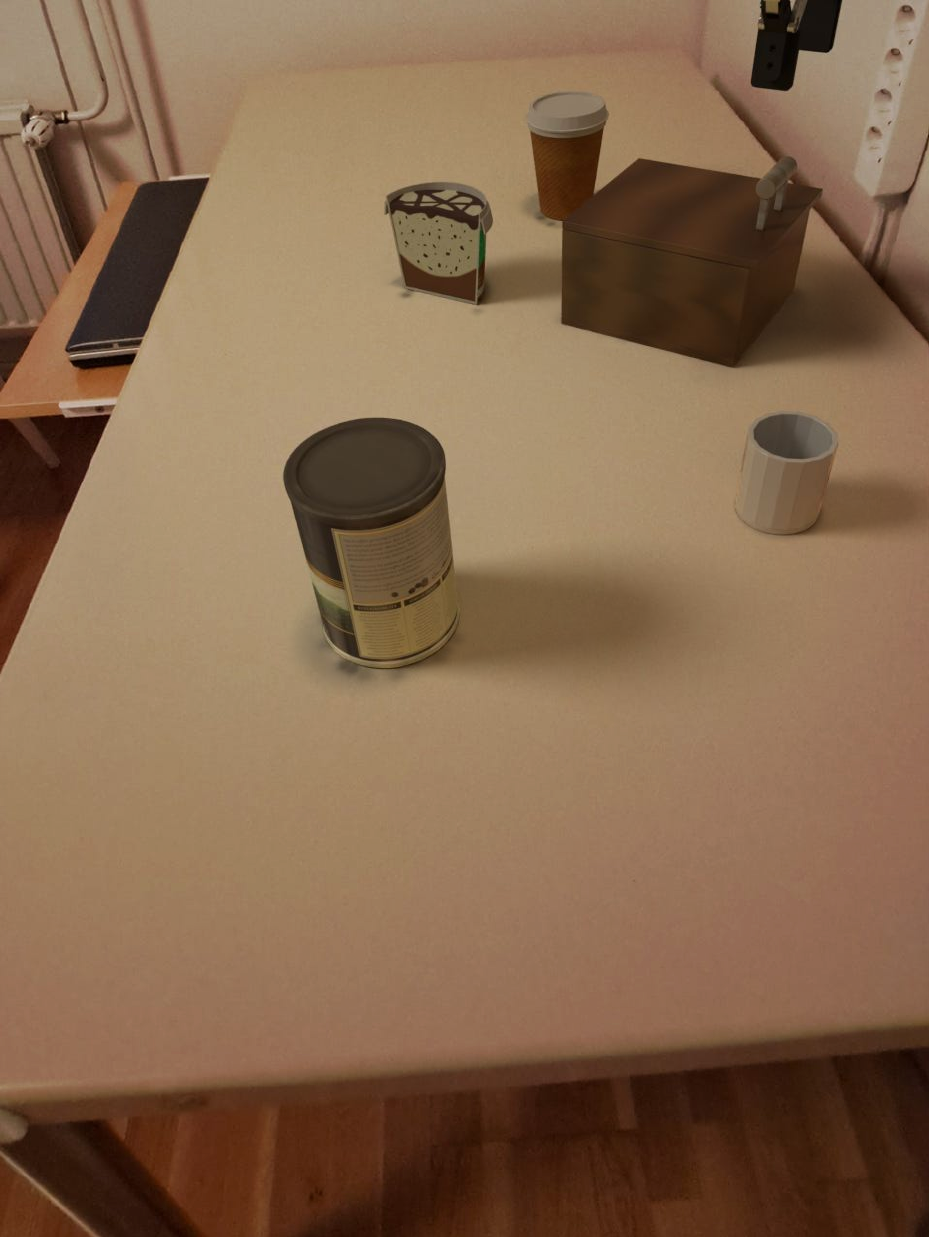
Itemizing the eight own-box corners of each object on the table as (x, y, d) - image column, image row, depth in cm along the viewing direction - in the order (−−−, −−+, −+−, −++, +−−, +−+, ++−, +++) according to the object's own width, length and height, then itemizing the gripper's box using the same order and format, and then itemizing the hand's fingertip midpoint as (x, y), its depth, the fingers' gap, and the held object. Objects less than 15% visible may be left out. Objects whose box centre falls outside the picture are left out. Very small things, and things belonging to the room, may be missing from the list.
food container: (516, 282, 103) (514, 189, 96) (489, 307, 100) (484, 213, 93) (422, 261, 108) (413, 172, 101) (393, 285, 105) (381, 194, 97)
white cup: (829, 497, 75) (849, 424, 70) (802, 544, 72) (821, 471, 67) (752, 474, 78) (766, 402, 73) (722, 518, 74) (735, 446, 69)
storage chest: (794, 290, 98) (813, 195, 91) (733, 367, 89) (749, 269, 82) (632, 255, 106) (638, 166, 99) (561, 323, 97) (561, 229, 90)
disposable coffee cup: (517, 223, 114) (515, 116, 105) (539, 190, 120) (538, 87, 111) (594, 229, 111) (598, 121, 102) (612, 196, 117) (617, 90, 108)
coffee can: (297, 650, 68) (252, 498, 57) (359, 557, 74) (328, 405, 64) (428, 685, 65) (405, 531, 54) (481, 585, 71) (469, 430, 61)
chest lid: (821, 196, 91) (833, 137, 87) (758, 270, 82) (768, 208, 78) (638, 165, 99) (641, 110, 95) (561, 229, 90) (562, 170, 86)
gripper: (858, -195, 57) (802, 110, 69) (931, -233, 66) (871, 41, 79) (739, -195, 60) (706, 98, 72) (825, -231, 69) (783, 33, 82)
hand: (792, 68), depth 75 cm, fingers open, 9 cm apart
